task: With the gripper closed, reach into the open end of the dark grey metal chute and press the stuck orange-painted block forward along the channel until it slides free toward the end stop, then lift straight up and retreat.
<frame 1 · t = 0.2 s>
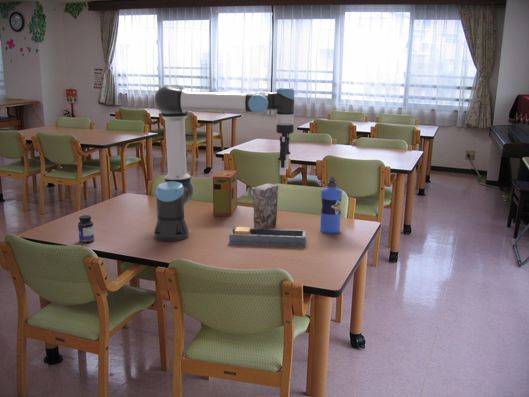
hand: (284, 171, 238), 28 cm above the table, fingers open, 13 cm apart
water bottle: (330, 231, 246), on the table
box: (225, 211, 277), on the table
stone block: (265, 227, 251), on the table
pill bottle: (86, 241, 229), on the table
block: (242, 233, 231), point 3 cm above the table, slide at 0.0 cm
chute: (268, 241, 231), on the table
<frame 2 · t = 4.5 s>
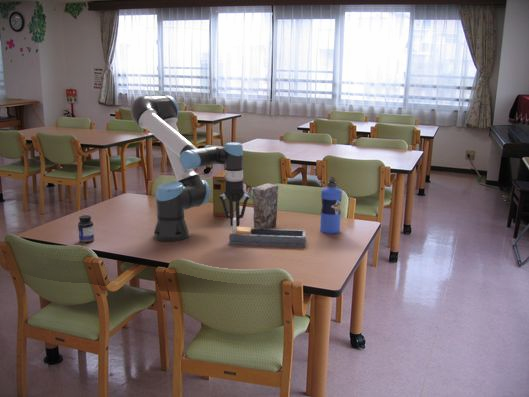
hand: (235, 233, 231), 3 cm above the table, fingers closed
block: (243, 233, 231), point 3 cm above the table, slide at 0.5 cm, touching gripper
everything else where it was.
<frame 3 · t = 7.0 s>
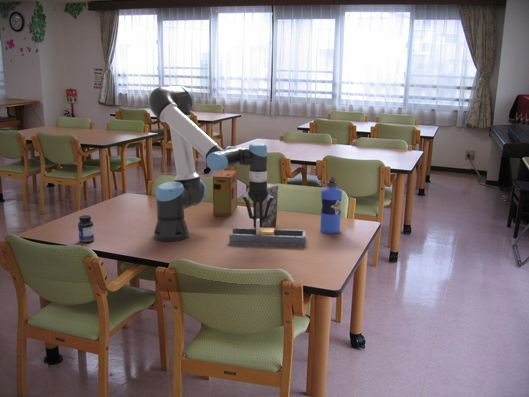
hand: (258, 234, 230), 3 cm above the table, fingers closed
block: (266, 234, 230), point 3 cm above the table, slide at 10.5 cm, touching gripper
everything else where it was.
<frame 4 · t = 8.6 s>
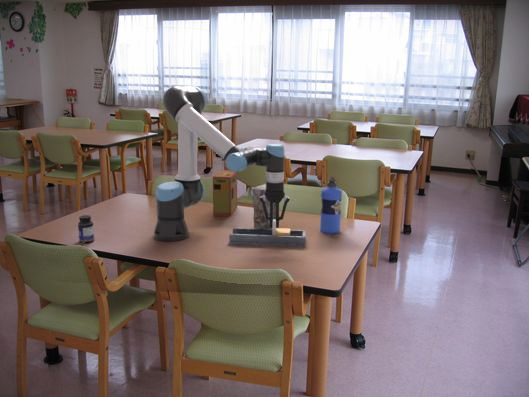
hand: (274, 234, 230), 3 cm above the table, fingers closed
block: (283, 234, 230), point 3 cm above the table, slide at 17.4 cm, touching gripper
everything else where it was.
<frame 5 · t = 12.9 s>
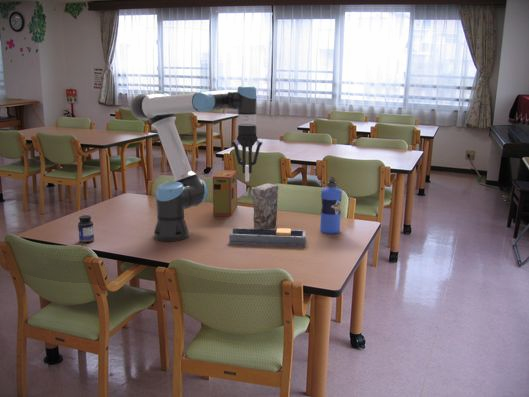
hand: (247, 180, 225), 26 cm above the table, fingers closed
block: (283, 234, 230), point 3 cm above the table, slide at 17.7 cm
everything else where it was.
at the end: block slide at 17.7 cm; block touching nothing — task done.
